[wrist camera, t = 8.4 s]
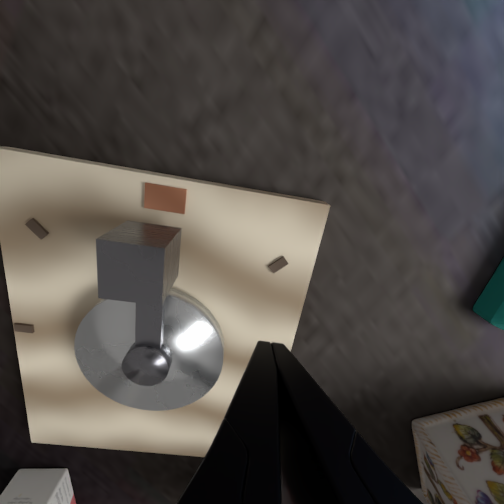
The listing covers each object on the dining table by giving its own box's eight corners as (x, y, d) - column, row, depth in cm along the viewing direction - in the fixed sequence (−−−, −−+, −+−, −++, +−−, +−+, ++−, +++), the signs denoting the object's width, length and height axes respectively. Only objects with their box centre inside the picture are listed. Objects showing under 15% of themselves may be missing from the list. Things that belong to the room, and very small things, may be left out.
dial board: (259, 445, 26) (260, 464, 25) (43, 425, 24) (29, 444, 23) (323, 201, 18) (331, 206, 16) (7, 146, 16) (-18, 145, 15)
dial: (216, 402, 22) (209, 466, 17) (87, 390, 21) (46, 454, 16) (242, 230, 17) (241, 259, 12) (75, 206, 16) (11, 227, 12)
